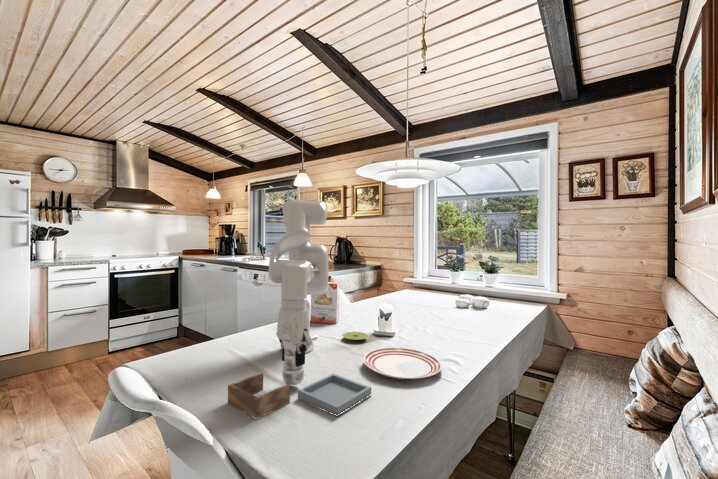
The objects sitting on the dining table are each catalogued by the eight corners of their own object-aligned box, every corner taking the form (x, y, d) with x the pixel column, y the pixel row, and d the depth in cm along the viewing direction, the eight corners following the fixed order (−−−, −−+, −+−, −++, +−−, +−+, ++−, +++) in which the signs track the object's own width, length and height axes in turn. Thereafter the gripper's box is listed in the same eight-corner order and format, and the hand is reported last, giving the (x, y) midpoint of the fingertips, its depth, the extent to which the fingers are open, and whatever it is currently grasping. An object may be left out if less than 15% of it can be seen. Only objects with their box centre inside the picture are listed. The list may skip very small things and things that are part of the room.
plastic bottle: (299, 389, 102) (300, 322, 101) (278, 386, 104) (279, 320, 103) (307, 379, 109) (308, 316, 108) (286, 377, 110) (288, 314, 109)
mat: (353, 334, 161) (354, 330, 161) (373, 339, 154) (373, 335, 154) (337, 339, 152) (337, 335, 152) (357, 345, 145) (357, 341, 145)
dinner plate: (444, 360, 131) (445, 351, 131) (437, 392, 105) (437, 381, 105) (375, 351, 140) (375, 343, 139) (352, 378, 114) (352, 368, 113)
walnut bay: (261, 388, 104) (261, 372, 104) (289, 402, 96) (290, 385, 96) (227, 402, 96) (227, 385, 95) (256, 419, 88) (256, 400, 88)
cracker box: (310, 322, 179) (310, 282, 178) (313, 319, 185) (314, 280, 184) (336, 324, 176) (337, 283, 176) (339, 321, 182) (339, 281, 182)
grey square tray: (333, 381, 111) (333, 373, 111) (371, 395, 101) (371, 387, 101) (297, 398, 99) (298, 390, 99) (337, 417, 90) (337, 407, 90)
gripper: (266, 301, 107) (265, 359, 108) (304, 310, 97) (303, 374, 98) (285, 298, 113) (284, 352, 114) (323, 306, 103) (322, 366, 104)
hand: (293, 362), depth 106 cm, fingers closed on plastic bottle, 5 cm apart
